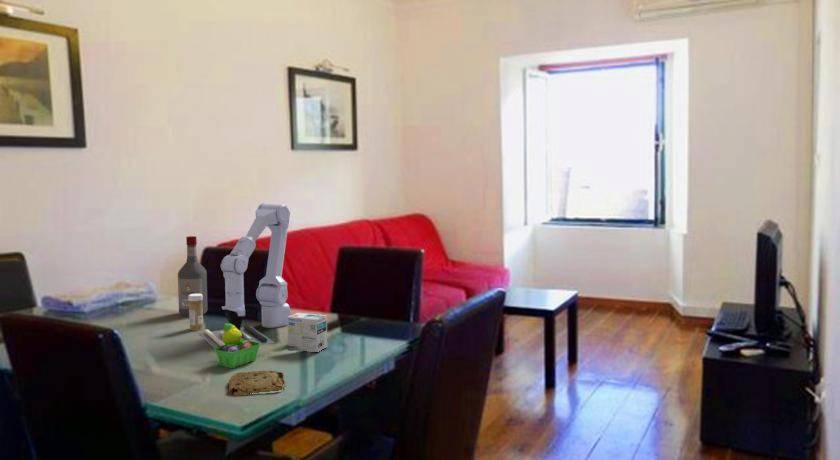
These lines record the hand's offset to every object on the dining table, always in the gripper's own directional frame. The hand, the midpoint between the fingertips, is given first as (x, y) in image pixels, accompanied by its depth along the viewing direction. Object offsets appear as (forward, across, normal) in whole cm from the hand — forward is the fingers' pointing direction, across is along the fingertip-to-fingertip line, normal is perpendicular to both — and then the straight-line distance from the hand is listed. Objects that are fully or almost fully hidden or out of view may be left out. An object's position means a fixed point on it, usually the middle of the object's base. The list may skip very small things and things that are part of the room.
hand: (235, 333), depth 202 cm
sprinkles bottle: (+3, -18, -8) cm, 20 cm away
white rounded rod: (+1, 0, -6) cm, 7 cm away
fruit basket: (+3, +21, -6) cm, 22 cm away
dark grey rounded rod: (+1, 0, +6) cm, 7 cm away
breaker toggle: (+1, -3, 0) cm, 3 cm away
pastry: (+4, +43, -7) cm, 44 cm away
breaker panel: (+3, 0, 0) cm, 3 cm away
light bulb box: (+3, +19, +17) cm, 26 cm away
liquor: (+3, -48, -2) cm, 48 cm away
